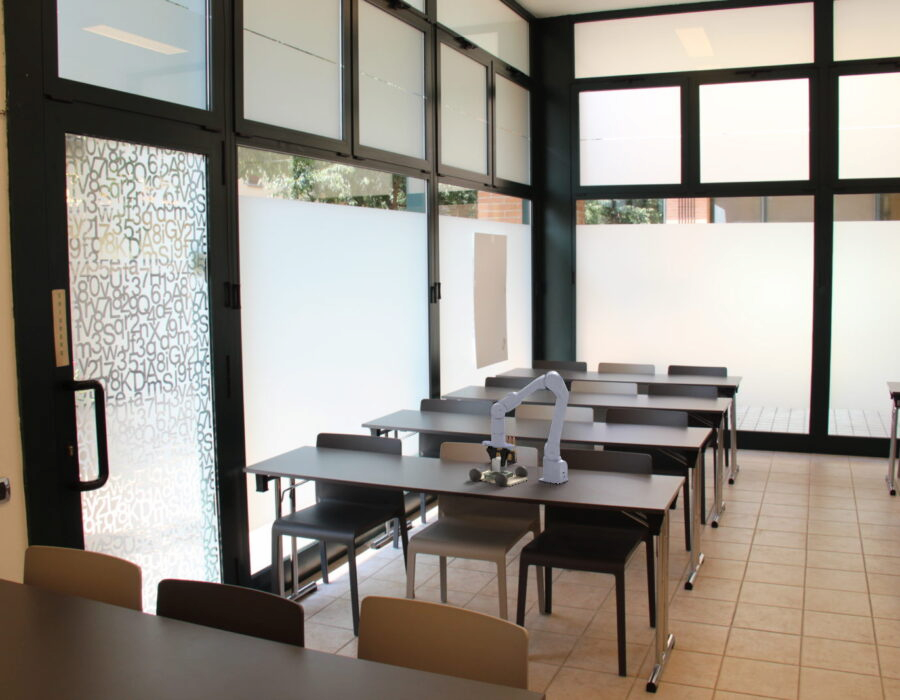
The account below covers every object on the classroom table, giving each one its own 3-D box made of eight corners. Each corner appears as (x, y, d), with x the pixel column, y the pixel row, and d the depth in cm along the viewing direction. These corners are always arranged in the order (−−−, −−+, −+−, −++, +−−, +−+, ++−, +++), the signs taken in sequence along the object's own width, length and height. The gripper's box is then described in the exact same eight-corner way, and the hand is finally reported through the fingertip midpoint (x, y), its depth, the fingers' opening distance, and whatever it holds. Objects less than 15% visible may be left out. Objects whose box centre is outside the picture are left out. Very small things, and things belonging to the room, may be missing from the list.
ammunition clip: (516, 462, 376) (516, 435, 374) (515, 463, 374) (514, 436, 373) (495, 459, 381) (494, 433, 379) (493, 460, 379) (492, 434, 378)
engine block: (506, 469, 348) (506, 457, 348) (500, 472, 344) (500, 460, 344) (498, 468, 351) (498, 456, 350) (491, 470, 347) (491, 458, 346)
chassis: (530, 479, 347) (530, 467, 346) (506, 487, 335) (506, 475, 334) (491, 471, 360) (490, 460, 359) (467, 479, 348) (467, 467, 347)
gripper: (518, 432, 344) (518, 465, 346) (488, 428, 353) (489, 461, 354) (509, 436, 338) (509, 469, 340) (479, 431, 347) (479, 464, 348)
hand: (498, 465), depth 347 cm, fingers closed on engine block, 4 cm apart
